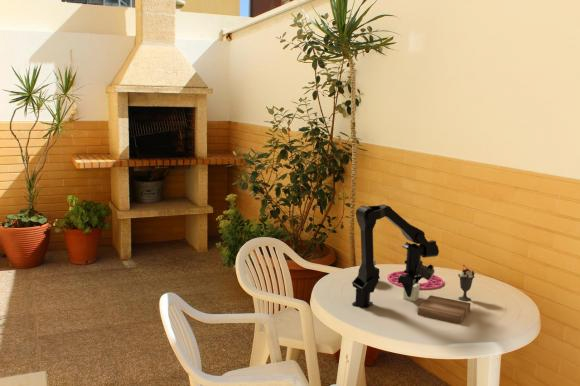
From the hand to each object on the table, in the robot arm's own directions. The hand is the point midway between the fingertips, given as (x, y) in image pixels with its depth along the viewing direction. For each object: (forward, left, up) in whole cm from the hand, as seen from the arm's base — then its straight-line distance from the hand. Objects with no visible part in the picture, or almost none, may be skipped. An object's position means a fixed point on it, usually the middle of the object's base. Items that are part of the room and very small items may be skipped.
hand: (411, 294), depth 235 cm
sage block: (0, 0, -2) cm, 2 cm away
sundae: (+12, -19, -2) cm, 23 cm away
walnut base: (-8, -16, -2) cm, 18 cm away
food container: (+12, +24, -2) cm, 27 cm away
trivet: (+24, +6, -2) cm, 25 cm away
